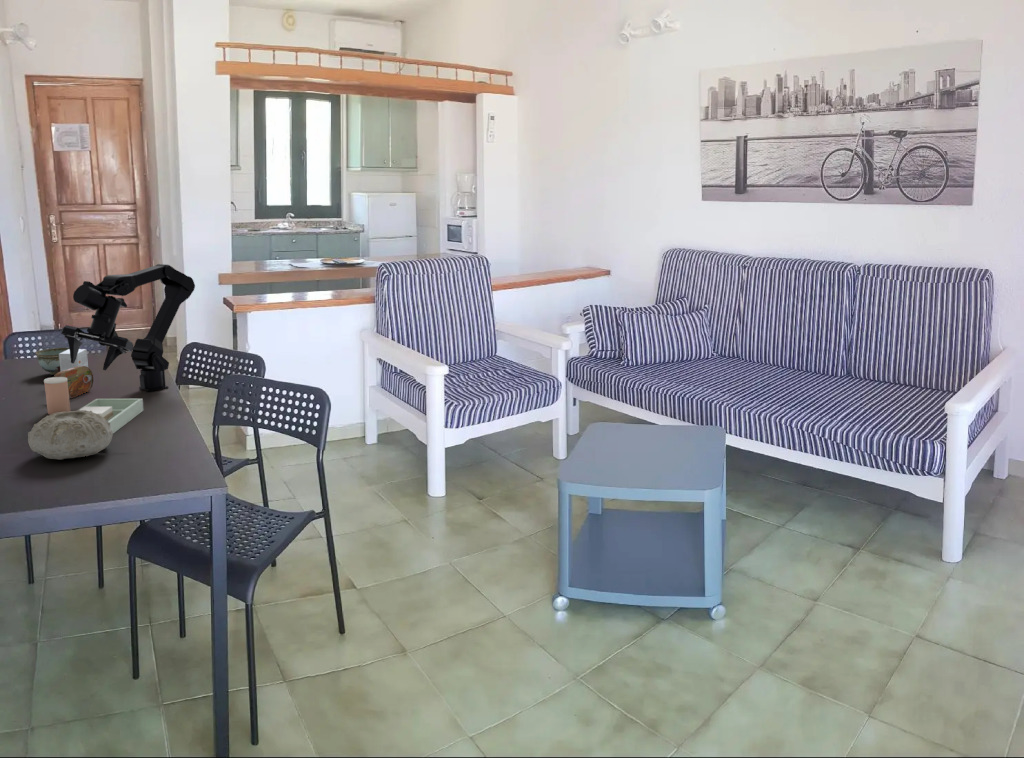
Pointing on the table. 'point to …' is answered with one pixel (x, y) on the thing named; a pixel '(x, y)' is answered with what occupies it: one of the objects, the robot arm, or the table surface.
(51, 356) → the bowl
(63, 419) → the grey rounded lump
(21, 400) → the table surface
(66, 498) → the table surface
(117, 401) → the tote
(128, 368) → the table surface
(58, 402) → the canister
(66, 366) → the small box
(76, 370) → the tin
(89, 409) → the block
